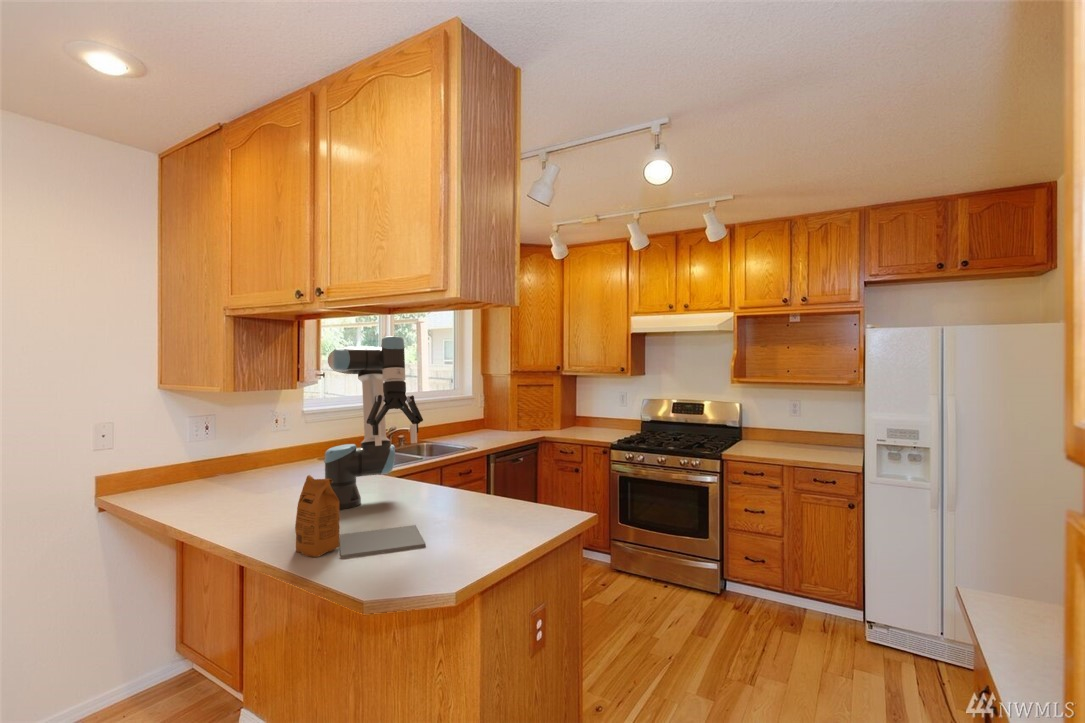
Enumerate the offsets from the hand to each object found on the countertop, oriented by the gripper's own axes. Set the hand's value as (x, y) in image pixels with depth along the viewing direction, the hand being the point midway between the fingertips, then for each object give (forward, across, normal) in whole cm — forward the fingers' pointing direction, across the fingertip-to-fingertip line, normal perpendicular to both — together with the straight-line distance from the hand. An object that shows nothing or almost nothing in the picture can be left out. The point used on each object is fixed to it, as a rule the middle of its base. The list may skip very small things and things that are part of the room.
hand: (396, 444), depth 173 cm
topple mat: (+30, -8, -2) cm, 31 cm away
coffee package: (+30, -24, +7) cm, 39 cm away
